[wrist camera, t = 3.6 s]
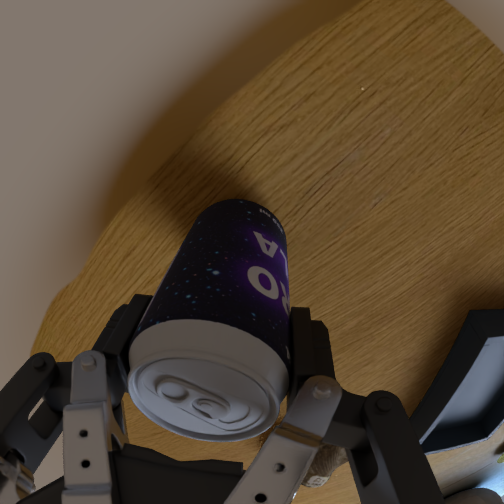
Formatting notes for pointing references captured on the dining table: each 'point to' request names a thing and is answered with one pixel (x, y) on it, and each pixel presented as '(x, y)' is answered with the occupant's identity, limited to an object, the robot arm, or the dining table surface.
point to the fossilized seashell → (324, 464)
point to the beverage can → (218, 329)
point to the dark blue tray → (466, 388)
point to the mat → (501, 459)
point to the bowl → (475, 497)
